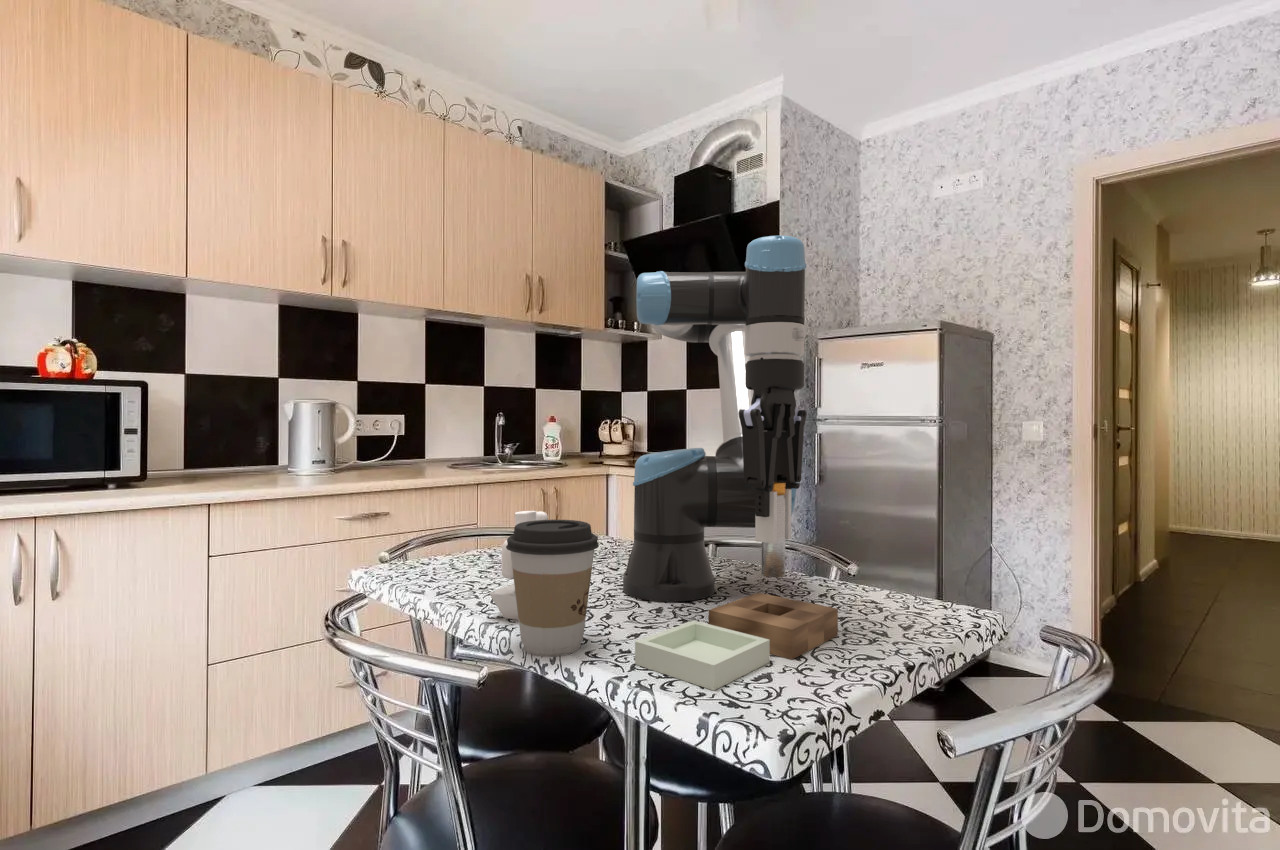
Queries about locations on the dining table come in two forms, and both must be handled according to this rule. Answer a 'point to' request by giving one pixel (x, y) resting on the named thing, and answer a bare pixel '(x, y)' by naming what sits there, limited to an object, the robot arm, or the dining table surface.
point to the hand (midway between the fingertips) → (773, 539)
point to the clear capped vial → (776, 552)
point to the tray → (702, 653)
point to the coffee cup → (552, 583)
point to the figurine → (507, 595)
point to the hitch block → (779, 622)
